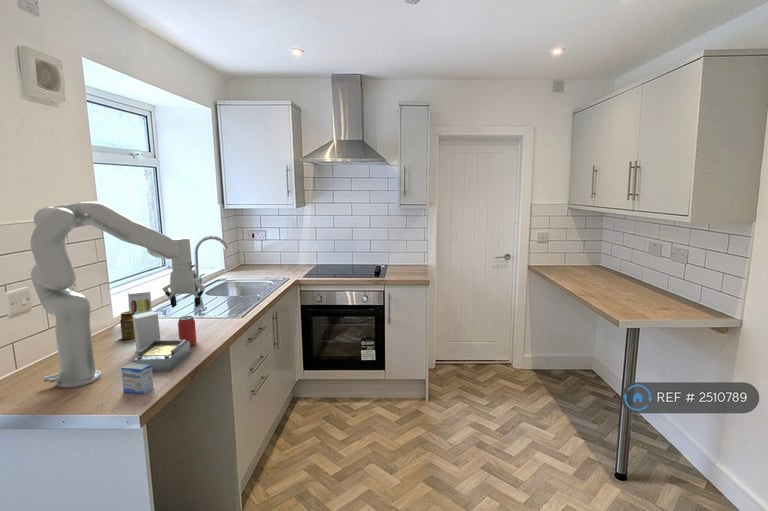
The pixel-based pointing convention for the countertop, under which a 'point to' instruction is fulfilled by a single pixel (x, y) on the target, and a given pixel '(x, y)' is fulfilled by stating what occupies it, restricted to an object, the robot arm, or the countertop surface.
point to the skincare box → (145, 329)
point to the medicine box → (137, 378)
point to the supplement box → (139, 301)
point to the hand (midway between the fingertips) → (185, 306)
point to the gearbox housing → (163, 354)
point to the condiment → (127, 327)
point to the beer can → (187, 329)
